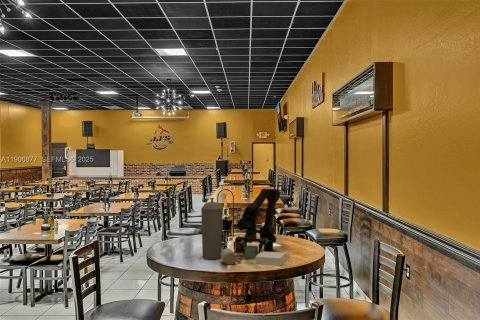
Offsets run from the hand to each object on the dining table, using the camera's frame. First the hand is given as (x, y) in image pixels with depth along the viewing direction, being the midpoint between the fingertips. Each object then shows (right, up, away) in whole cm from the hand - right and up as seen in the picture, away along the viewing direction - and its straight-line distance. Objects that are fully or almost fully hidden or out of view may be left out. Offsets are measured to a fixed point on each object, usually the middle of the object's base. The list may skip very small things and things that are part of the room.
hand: (251, 254), depth 254 cm
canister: (-23, -2, -3) cm, 23 cm away
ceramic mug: (-12, -2, -16) cm, 20 cm away
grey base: (+10, -1, -13) cm, 17 cm away
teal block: (0, -1, 0) cm, 1 cm away
